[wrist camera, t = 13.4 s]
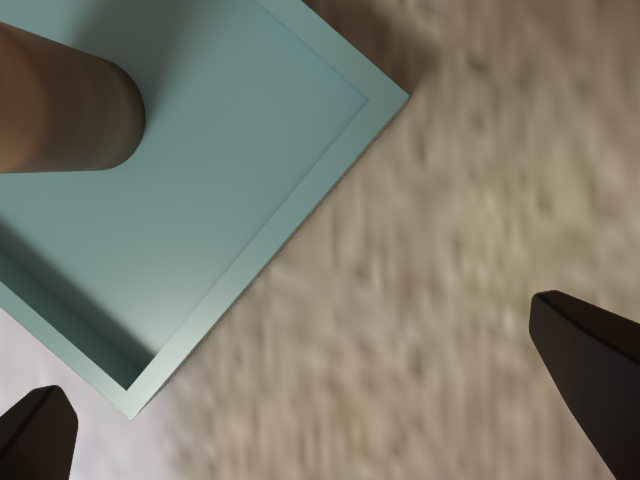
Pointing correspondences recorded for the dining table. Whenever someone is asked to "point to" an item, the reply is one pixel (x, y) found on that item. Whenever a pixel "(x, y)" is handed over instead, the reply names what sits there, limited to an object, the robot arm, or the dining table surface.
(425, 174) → the dining table surface
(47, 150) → the shaker
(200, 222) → the tray
